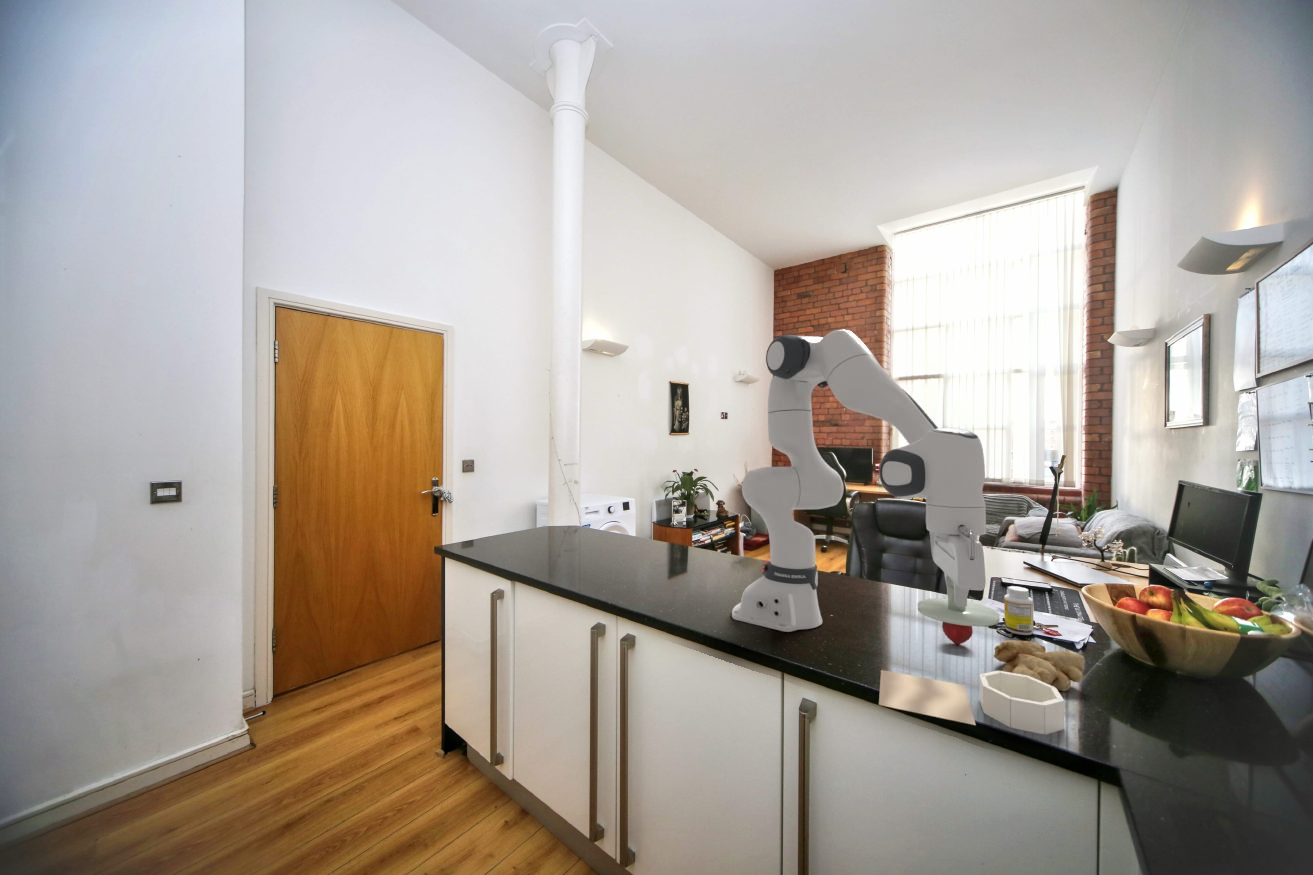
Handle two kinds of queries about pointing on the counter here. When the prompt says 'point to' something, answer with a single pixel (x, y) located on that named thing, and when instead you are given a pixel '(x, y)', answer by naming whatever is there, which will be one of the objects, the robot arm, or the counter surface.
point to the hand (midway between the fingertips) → (956, 602)
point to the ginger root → (1041, 663)
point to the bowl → (1022, 702)
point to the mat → (925, 697)
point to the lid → (958, 611)
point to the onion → (957, 632)
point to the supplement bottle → (1018, 611)
